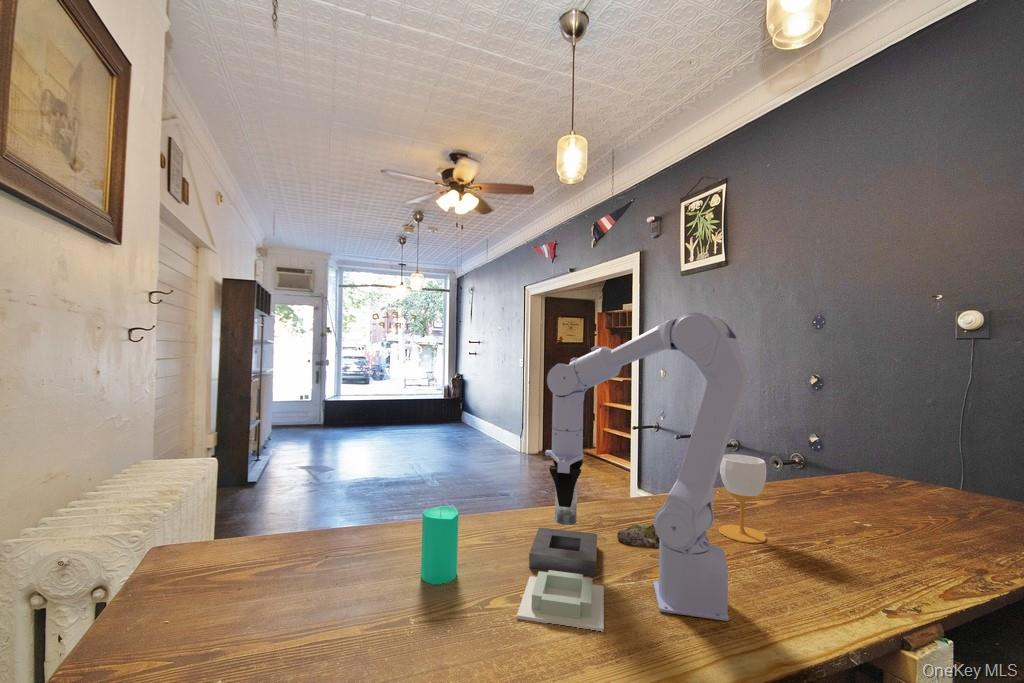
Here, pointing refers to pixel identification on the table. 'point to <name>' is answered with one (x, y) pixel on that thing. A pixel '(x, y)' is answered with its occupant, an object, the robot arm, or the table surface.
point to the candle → (439, 544)
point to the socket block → (564, 551)
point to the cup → (743, 491)
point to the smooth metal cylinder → (566, 510)
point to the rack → (563, 600)
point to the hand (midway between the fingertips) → (566, 502)
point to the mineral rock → (639, 535)
